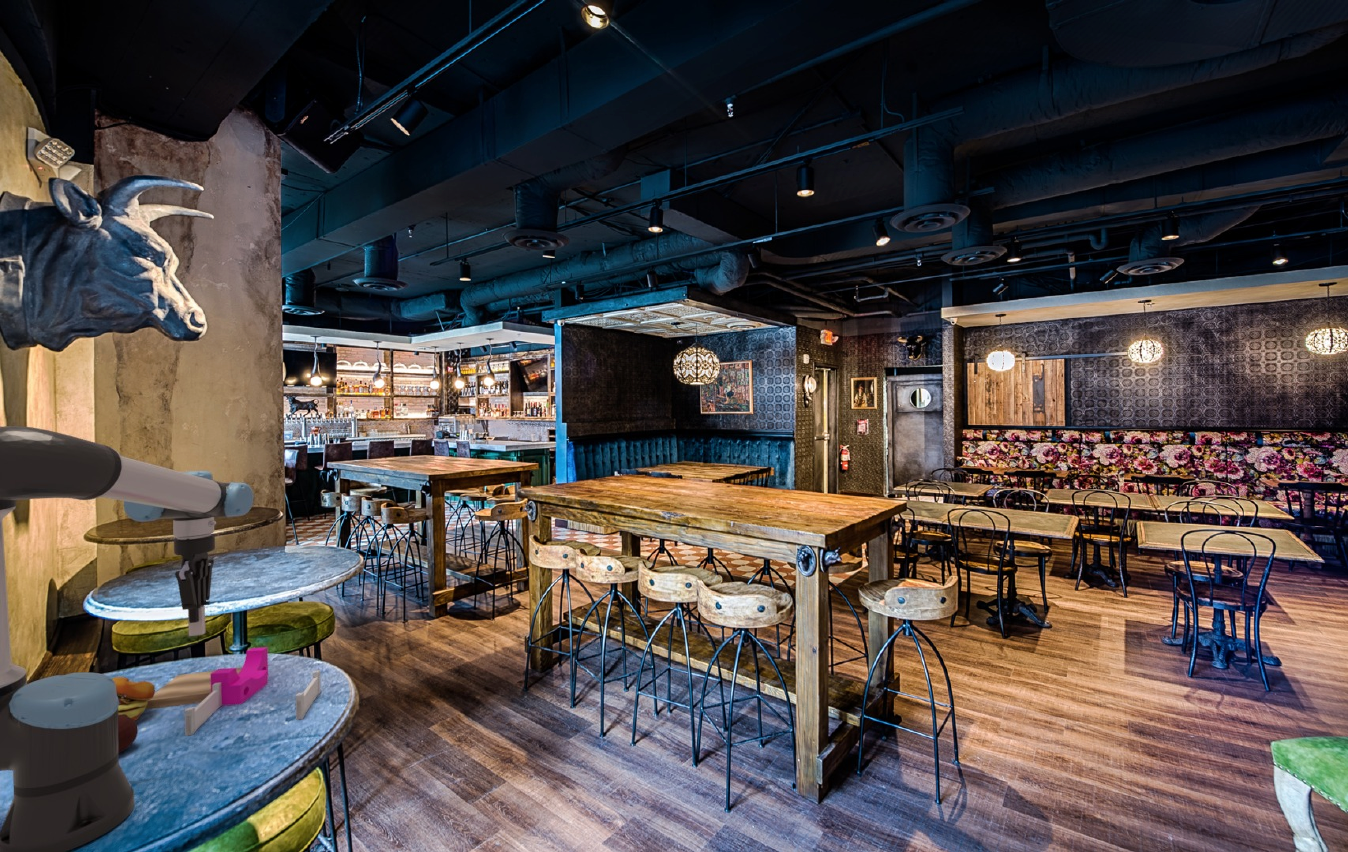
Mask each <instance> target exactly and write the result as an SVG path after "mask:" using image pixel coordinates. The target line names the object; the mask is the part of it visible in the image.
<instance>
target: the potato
mask: <svg viewBox="0 0 1348 852" xmlns="http://www.w3.org/2000/svg"><path fill="white" fill-rule="evenodd" d="M138 729H139V728H138V724H137V722H136V720H135V721H134V719H132V718H129V717H127V716H125V715H118V754H120V753H122V752H124V751H126V750H127V749H128V748H130V746H132V745H133V743H134V742H135V740H136V739H137V737H138V733H139V732H138V731H139V730H138Z"/></svg>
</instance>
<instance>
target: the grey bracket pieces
mask: <svg viewBox="0 0 1348 852" xmlns="http://www.w3.org/2000/svg"><path fill="white" fill-rule="evenodd" d="M321 688H322V687H321V670H320V669H318V670H314V671H313V672H312V680H311V681H310V682H309V684H308V685H307V687H306V688H305V689H304V691H303V692H298V693H296V695H295V719H296V720H297V721H298V720H303V719H304V717H305V714H306V713H307V711H308V710H309V708H310V707H311V706H312V705H313V703H314V701H315V699H316V698H317V697H318V696H319V695H320V694H321V692H322V691H321V690H322V689H321ZM212 690H213V692H212V693H211V694H209V695H208V696H207V697H206V698H205V699H204V700H203V701H202V702H201V703H198V705H196V706H193V707H191V706H190V707H187V708H186V709H184V731H185V732H184V734H185V735H184V736H185V737H186V736H188V737H189V736H193V735H194V734H195V733H196V731H197V730H198V729H199V728H200V727H201V725H203V724H204V723H205V721H207V720H208V719H209V718H210V717H211V716H212V715H213V714H214V713H215V712H216V710H218V709H219V708H220V707H221V706H223V705H222V694H221V682H220V683H215V684H213V685H212Z"/></svg>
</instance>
